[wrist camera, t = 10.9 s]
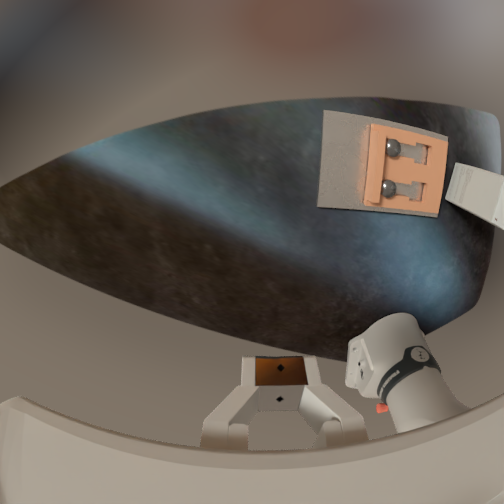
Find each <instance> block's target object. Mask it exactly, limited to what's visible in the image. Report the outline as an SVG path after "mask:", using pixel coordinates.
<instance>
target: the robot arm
mask: <svg viewBox="0 0 504 504" xmlns="http://www.w3.org/2000/svg"><path fill="white" fill-rule="evenodd" d="M424 338H425V335H424V332H423V331H422V330H420V328H419V326H418V323H417V320H416V319H415V317H414V316H412V315H410V314H408V313H395V314H391V315H388V316H386V317H384V318H382V319H380V320H378V321H377V322H375V323H374V324H373V325H371V326H370V327H369V328H368V329H367V330H366V331H365V332H364V333H362V334H361V335H359V336H357V337H355V338H353V339H352V340H350V342H349V344H348V357H347V368H346V378H345V384H346V386H348V387H350V388H356V389H358V390H359V392H360V394H361V395H362V396H363V397H366V398H380V399H381V400H382V401H383V402H384V403H380V404H377V406H376V410H377V413H381V412H387V411H388V409H389V410H390V413H391V416H392V419H393V422H394V424H395V427H396V430H397V432H398V434H394V435H390V436H386V437H382V438H377V439H372V440H369V438H368V434H367V431H366V427H365V424H364V420H363V417H362V415H360V414H359V413H358V412H357V411H356V410H355V409H353V408H352V407H351V406H350V405H349V404H348V403H346V402H345V401H344V400H343V399H342V398H341V397H339V396H338V395H337V394H336V393H335V392H334V391H332V390H331V389H330V388H329V387H328V386H327V385H325V384H322V382H321V378H320V373H319V369H318V364H317V360H316V357H315V356H286V357H285V356H284V357H266V356H243V358H242V376H241V386H237V387H236V388H235V389H234V390H233V391H232V392H231V393H230V394H229V395H228V396H227V397H226V398H225V399H224V400H223V401H222V403H221V404H220V405H219V406H218V407H217V408H216V409H215V410H214V411H213V412H212V413H211V414H210V415H209V416H208V417H207V418H206V419H205V420H204V423H203V430H202V436H201V442H200V447H195V446H187V445H179V444H173V443H167V442H161V441H156V440H151V439H145V438H141V437H137V436H132V435H128V434H124V433H120V432H117V431H113V430H109V429H105V428H102V427H99V426H96V425H93V424H90V423H87V422H84V421H81V420H78V419H75V418H72V417H70V416H67V415H64V414H62V413H60V412H57V411H55V410H52V409H50V408H48V407H45V406H43V405H41V404H38V403H36V402H34V401H32V400H30V399H28V398H25V397H23V396H16V397H14V398H11V399H9V400H7V401H5V402H3V403H1V404H0V504H504V393H503V394H501V395H499V396H497V397H495V398H493V399H491V400H489V401H487V402H485V403H483V404H481V405H478V406H476V407H474V408H469V407H467V406H465V405H464V404H463V403H461V402H460V401H459V400H458V399H457V398H456V397H455V395H454V394H453V393H452V391H451V390H450V388H449V387H448V385H447V384H446V382H445V381H444V379H443V378H442V376H441V370H440V368H439V365H438V363H437V362H436V360H435V359H434V357H433V356H432V354H431V352H430V350H429V348H428V345H427V343H426V341H425V339H424ZM258 411H298V412H299V414H300V415H301V416H302V417H303V418H304V420H305V421H306V422H307V423H308V424H309V426H310V427H311V428H312V429H313V430H314V432H315V433H316V434H317V435H318V436H317V438H316V441H315V442H314V445H313V446H312V448H308V449H296V450H295V449H294V450H267V451H266V450H248V425H249V424H250V422H251V421H252V419H253V418H254V417H255V415H256V414H257V412H258Z"/></svg>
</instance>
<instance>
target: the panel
mask: <svg viewBox="0 0 504 504" xmlns="http://www.w3.org/2000/svg"><path fill="white" fill-rule="evenodd" d="M388 139H395V140H397V141H398V142H399V143H403V144H408V145H412V146H416V143H420V144H424V145H428V156H427V165H423V164H419V163H414V159H413V158H408V157H403V156H396V157H391V156H388V155H387V154H386V153H385V145H386V140H388ZM447 148H448V142H446V141H443V140H439V139H436V138H432V137H429V136H425V135H421V134H418V133H414V132H410V131H406V130H401V129H397V128H392V127H388V126H383V125H378V124H371V132H370V147H369V159H368V170H367V179H366V188H365V196H364V205H366V206H374V207H385V208H395V209H404V210H413V211H422V212H430V213H438V212H439V207H440V201H441V196H442V189H443V183H444V176H445V168H446V159H447ZM386 179H389V180H391V181H393V182H397V183H404V184H410V185H411V184H412V181H416V182H422V183H424V189H423V195H422V201H414V200H409V197H408V196H404V195H397V194H395V195H394V196H393V197H390V198H387V197H384V196H383V195H382V194H381V193H380V192H381V185H382V180H383V181H384V180H386Z"/></svg>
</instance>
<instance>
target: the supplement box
mask: <svg viewBox="0 0 504 504" xmlns="http://www.w3.org/2000/svg"><path fill="white" fill-rule="evenodd" d="M445 199H446V200H447V201H449V202H451V203H453V204H455V205H457V206H458V207H460V208H462V209H464V210H466V211H468V212H470V213H472V214H474V215H476V216H478V217H479V218H481V219H483V220H485V221H487V222H489V223H490V224H492V225H494V226H496V227H498V228H500V229H502V230H503V231H504V176H503V175H499V174H496V173H493V172H489V171H486V170H483V169H480V168H476V167H473V166H469V165H465V164H461V163H455V167H454V170H453V174H452V178H451V181H450V184H449V188H448V191H447V194H446V197H445Z"/></svg>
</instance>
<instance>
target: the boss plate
mask: <svg viewBox="0 0 504 504" xmlns="http://www.w3.org/2000/svg"><path fill="white" fill-rule="evenodd" d="M371 124H378V125H383V126H388V127H392V128H397V129H401V130H406V131H410V132H414V133H418V134H421V135H425V136H429V137H432V138H436V139H439V140H443V141H446V142H448V137H447V136H444V135H440V134H437V133H434V132H430V131H427V130H423V129H420V128H416V127H412V126H408V125H404V124H400V123H396V122H391V121H387V120H382V119H377V118H372V117H367V116H361V115H355V114H349V113H343V112H336V111H328V110H322V124H321V144H320V160H319V174H318V187H317V198H316V206H317V207H328V208H343V209H357V210H369V211H381V212H392V213H402V214H412V215H421V216H430V217H437V215H438V213H430V212H422V211H413V210H404V209H395V208H385V207H374V206H366V205H364V196H365V188H366V179H367V170H368V159H369V147H370V132H371ZM385 153H386V154H387V155H388V156H391V157H396V156H403V157H408V158H413V159H414V163H419V164H423V165H427V156H428V145H424V144H420V143H416V146H412V145H408V144H403V143H399V142H398V141H397V140H395V139H388V140H386V145H385ZM423 189H424V183H422V182H416V181H412V184H411V185H410V184H404V183H397V182H393V181H391V180H389V179H386V180H384V181H383V180H382V185H381V192H380V193H381V194H382V195H383V196H384V197H387V198H390V197H393V196H394V195H395V194H397V195H404V196H408V197H409V200H414V201H422V195H423Z"/></svg>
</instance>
